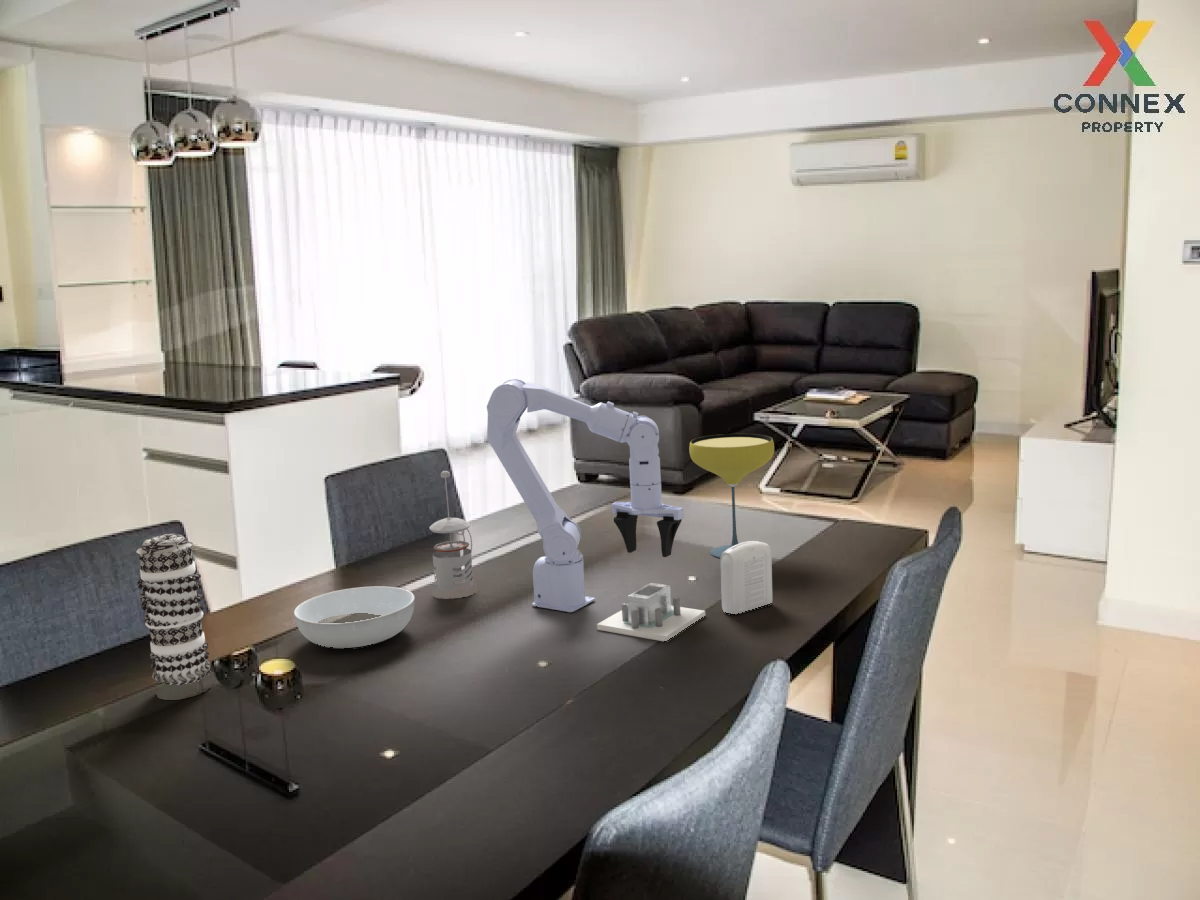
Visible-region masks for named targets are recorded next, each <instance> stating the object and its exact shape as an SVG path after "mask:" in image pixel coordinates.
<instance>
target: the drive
mask: <svg viewBox="0 0 1200 900" xmlns="http://www.w3.org/2000/svg"><path fill="white" fill-rule="evenodd" d="M627 603H628V616H629V623H630V624H631V610H638V625H642V626H648V627H649V626H650V625H652V624H653V623H655V609H656V608H661V609H662V618H663V617H665V616H666V615H668V614H670V613H671V606H672V597H671V585H668V584H663V583H662V584H661V583H656V582H655V583H654V582H650V583H647V584H646V585H644V586H643V587H641V588H639V589H637V590H635V591H634V592H632V593H630V594H628V595H627Z"/></svg>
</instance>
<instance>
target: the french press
mask: <svg viewBox="0 0 1200 900" xmlns="http://www.w3.org/2000/svg"><path fill="white" fill-rule="evenodd" d="M449 477H451V473H450V471H448V470H442V472H440V478H444V482H445V493H446V495H445V497H446V504H447V505H446V507H447V517H445V518H443V519H442V518H441V519H439V520H436V521H435V522H434V523H432V524H431V525H430V526H429V530H430V531H431V532H433V533H437V534H449V539H450V540H448V541H443V542H440V543H437V544H435V545H434V546H433V550H434V551H435V552H433V553H432V564H433V575H434V586H435V585H437V586H438V588H440V589H442V590H455V589H454V587H461V586H463V585H465V584H466V583H467V582H468V581H469V580H471V582H470V583H469V584H468V585H467V586H466V587H465V588H463V589H466V588H469V587H471V586H472V585H473V584H475V583H474V577H473V576H474V572H473V569H474V568H473V559H472V555H473V554H472V553H473V540H472V535H471V532H470V530H469V528H470V526H471V524H470V522H468V521H467V520H465V519H463V518H459V517H450V509H449V497H448V485H447V478H449ZM465 530H466V531H467V532H468V534H469V537H470V543H469V542H468V541H466V538H465ZM460 532H461V533H460ZM452 533H456V534H457V535H458V536H462V538H463V540H452ZM469 546H470V548H468V547H469ZM461 551H462V552H463V554H462V556H461ZM438 556H447V557H438ZM462 567H464V568H463V569H462ZM463 574H464V575H463ZM456 577H459V578H456ZM466 578H467V580H466ZM460 580H463V581H464V582H462V583H460V584H455V583H454V581H460Z"/></svg>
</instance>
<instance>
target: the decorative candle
mask: <svg viewBox="0 0 1200 900" xmlns="http://www.w3.org/2000/svg"><path fill="white" fill-rule="evenodd" d="M193 544H194V542H192V541H190V540H188V539H187V537H185V536H184V535H182V534H179V533H166V534H160V535H159V534H158V535H155V536H151V537H149V538H147V539H145V540H144V541H143V543H142V545H141V547H139V548H138V549H137V550H136V553H137V554H138V556H139V557H138V558H139V563H140V570H139V572H140V578H139V579H138V580H137V588H138V589H140V590H141V592H140V593H139V597H140V601H141V610H142V611H143V612H144V613H145V614H144V616H143V618H144V623H145V626H146V627H147V628H148V629H149V635H150V642H149V644H150V651H151V652H150V653H149V659H151V660H152V662H151V669H153V672H152V676H151V677H152V679H153V681H154V682H155V681H156V682H158V683H160V684H163V683H164V684H166V685H181V686H182V685H184V684H187V683H188V684H192V683H193V682H195V681H196V682H199V681H200V679H204V678H205V677H204V676H205V675H209V674H208V673H207V672H208V671H210V669H211V665H212V663H211V662H210V661H208V659H209V656H210V653H209V651H207V649H208V647H209V643H208V642H206V638H205V631H203V628H202V626H203V624H202V620H201V619H202V618H203V617H204V612H203V610H204V605H203V604H201V603H200V602H201V601H202V600H203V598H204V597H203V595H201V594H198V592H197V591H199V590H200V589H201V588H202V586H203V584H202V583H201V582H199V581H198V580H199V579H200V578H201V577H202V575H201V574H200V573H199V572H196V562H195V560H194V559H193V551H192V546H193Z"/></svg>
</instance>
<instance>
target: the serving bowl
mask: <svg viewBox="0 0 1200 900" xmlns="http://www.w3.org/2000/svg"><path fill="white" fill-rule="evenodd" d="M415 602H416V600H415V594H413V592H412V591H410V590H408V589H405V588H401V587H395V586H385V585H384V586H383V585H382V586H381V585H380V586H379V585H378V586H377V585H376V586H360V587H352V588H345V589H340V590H333V591H330V592H327V593H323V594H320V595H317V596H313V597H311V598H309V599H307V600H305V601H303V602H301V603H300V604H298V606H296V607H295V609H294V611H293V617H294V621H295V624H296V626H297V628H298V631H299V632H300V633H301V635H302V636H303V637H305V639H307V640H308V641H309V642H311V643H312V644H315V645H317V644H318V646H320V645H321V647H324V646H325V647H324V648H330V647H333V648H332V649H344V648H351V647H360V646H366V645H370V646H372V645H371V644H373V645H375V644H378V643H381V642H384V641H387V640H388V639H391V638H393V637H394V636H396V635H398V633H401V632H402V631H403V629H404V628H405V627H406V626H407V625H408V624H409V623H410V622H411V621H410V620H411V619H412V616H413V614H414V610H415ZM351 613H352V614H353V613H368V614H374V615H381V616H379V617H375V618H371V619H366V620H360V621H354V622H345V623H318V622H319V621H321V620H323V619H326V618H329V617H332V616H338V615H342V614H343V615H344V614H351ZM366 647H367V646H366Z"/></svg>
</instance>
